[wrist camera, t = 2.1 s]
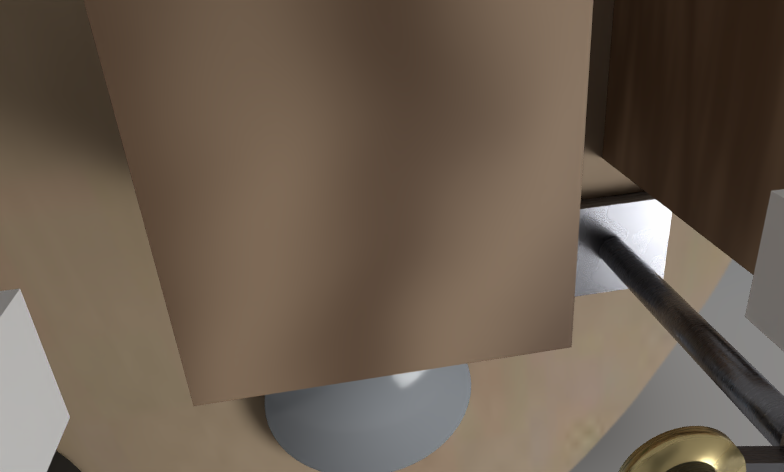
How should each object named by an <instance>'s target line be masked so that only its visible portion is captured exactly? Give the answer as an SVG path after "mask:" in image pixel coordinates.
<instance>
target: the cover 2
mask: <svg viewBox="0 0 784 472" xmlns="http://www.w3.org/2000/svg"><path fill="white" fill-rule="evenodd" d="M602 158H603V159H604V160H606V161H607V162H608V163H609V164H611V165H612V166H613V167H615V168H616V169H617V170H619V171H620V172H621V173H622V174H624V175H625V176H626V177H628V178H629V179H630V180H631V181H633V182H634V183H635V184H637V185H638V186H639V187H640V188H642V189H643V190H644V191H646V192H647V193H648V194H649V195H651V196H652V197H653V198H655V199H656V200H657V201H658V202H660V203H661V204H662V205H664V206H665V207H666V208H667V209H669V210H670V211H671V212H673V213H674V214H675V215H677V216H678V217H679V218H680V219H682V220H683V221H684V222H686V223H687V224H688V225H689V226H691V227H692V228H693V229H695V230H696V231H697V232H698V233H700V234H701V235H702V236H704V237H705V238H706V239H707V240H709V241H710V242H711V243H713V244H714V245H715V246H716V247H718V248H719V249H720V250H722V251H723V252H724V253H726V254H727V255H728V256H729V257H731V258H732V259H733V260H735V261H736V262H737V263H738V264H740V265H741V266H742V267H744V268H745V269H746V270H747V271H749V272H750V273H752V274H753V275H754V271H755V266H756V261H757V256H758V252H759V247H760V242H761V237H762V232H763V228H764V223H765V218H766V213H767V208H768V204H769V199H770V194H771V191H773V190H781V189H784V0H614V12H613V25H612V38H611V51H610V64H609V77H608V90H607V103H606V116H605V129H604V142H603V155H602Z"/></svg>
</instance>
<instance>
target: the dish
mask: <svg viewBox="0 0 784 472" xmlns="http://www.w3.org/2000/svg"><path fill="white" fill-rule="evenodd" d="M470 393H471V379H470V372H469V368H468V365H467V364H460V365H454V366H448V367H441V368H435V369H428V370H422V371H415V372H409V373H403V374H396V375H390V376H383V377H377V378H371V379H364V380H358V381H351V382H345V383H339V384H332V385H326V386H319V387H313V388H306V389H300V390H294V391H287V392H281V393H274V394H268V395H265V412H266V418H267V421H268V425H269V428H270V430H271V432H272V434H273V436H274V437H275V439H276V440H277V442H278V443H279V444H280V446H281V447H282V448H283V449H284V450H285V451H286V452H287V453H288V454H290V455H291V456H292V457H294V458H295V459H296V460H298V461H299V462H301V463H303V464H305V465H306V466H309V467H311V468H313V469H316V470H318V471H322V472H393V471H396V470H399V469H402V468H405V467H407V466H409V465H412V464H414V463H416V462H418V461H420V460H421V459H423V458H425V457H427V456H428V455H429V454H431V453H432V452H434V451H435V450H436V449H438V448H439V447H440V446H441V445H442V444H443V443H444V442H445V441H446V440H447V439H448V438H449V437H450V436H451V435H452V434H453V432H454V431H455V430H456V428H457V427H458V425H459V424H460V422H461V420H462V418H463V417H464V415H465V412H466V409H467V407H468V403H469V399H470Z"/></svg>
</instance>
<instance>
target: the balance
mask: <svg viewBox="0 0 784 472" xmlns="http://www.w3.org/2000/svg"><path fill="white" fill-rule="evenodd" d="M671 216H672V212H671V211H670V210H669V209H667V208H666V207H665V206H664V205H662V204H661V203H660V202H658V201H657V200H656V199H655V198H653V197H652V196H651V195H649V194H648V193H647V192H646V191H645V192H638V193H630V194H623V195H615V196H608V197H600V198H593V199H585V200H581V203H580V219H579V235H578V251H577V266H576V282H575V296H581V295H588V294H595V293H602V292H608V291H615V290H622V289H629V290H630V291H631V292H632V293H633V294H634V295H635V296H636V297H637V298H638V299H639V300H640V302H641V303H642V304H643V305H644V306H645V307H646V308H647V309H648V310H649V311H650V312H651V314H652V315H653V316H654V317H655V318H656V319H657V320H658V321H659V322H660V323H661V324H662V326H663V327H664V328H665V329H666V330H667V331H668V332H669V333H670V334H671V335H672V336H673V338H674V339H675V340H676V341H677V342H678V343H679V344H680V345H681V346H682V347H683V348H684V349H685V351H686V352H687V353H688V354H689V355H690V356H691V357H692V358H693V359H694V360H695V362H696V363H697V364H698V365H699V366H700V367H701V368H702V369H703V370H704V371H705V372H706V374H707V375H708V376H709V377H710V378H711V379H712V380H713V381H714V382H715V383H716V385H717V386H718V387H719V388H720V389H721V390H722V391H723V392H724V393H725V394H726V395H727V397H728V398H729V399H730V400H731V401H732V402H733V403H734V404H735V405H736V406H737V407H738V409H739V410H741V412H742V413H743V414H744V415H745V416H746V417H747V418H748V419H749V421H750V422H751V423H752V424H753V425H754V426H755V427H756V428H757V429H758V430H759V431H760V432H761V433H762V435H763V436H764V437H765V438H766V439H767V440H768V441H769V442H770V443H771V444H772V446H735V445H734V443H733V442H732V441H731V440H730V439H729V438H728V437H727V436H726V435H725V434H724V433H722V432H720V431H718V430H716V429H713V428H710V427H704V426H689V427H682V428H677V429H673V430H670V431H667V432H665V433H662V434H660V435H658V436H656V437H654V438H652V439H650V440H649V441H647V442H646V443H644V444H643V445H642V446H640V447H639V448H638V449H636V450H635V451H634V452H633V453H632V454H631V455H630V456H629V457H628V458H627V460H626V461H625V462H624V464H623V465H622V466H621V468H620V470H619V472H784V396H783V395H782V394H781V393H780V392H779V391H778V390H777V389H776V388H775V387H774V386H773V385H772V384H771V383H770V382H769V381H768V380H767V379H765V377H763V376H762V375H761V374H760V373H759V372H758V371H757V370H756V369H755V368H754V367H753V366H752V365H751V364H750V363H749V362H748V361H747V360H746V359H745V358H744V357H743V356H742V355H741V354H740V353H739V352H738V351H737V350H736V349H735V348H734V347H733V346H732V345H731V344H729V343H728V342H727V341H726V340H725V339H724V338H723V337H722V336H721V335H720V334H719V333H718V332H717V331H716V330H715V329H714V328H713V327H712V326H711V325H710V324H709V323H708V322H707V321H706V320H705V319H704V318H703V317H702V316H701V315H700V314H699V313H697V312H696V311H695V310H694V309H693V308H692V307H691V306H690V305H689V304H688V303H687V302H686V301H685V300H684V299H683V298H682V297H681V296H680V295H679V294H678V293H677V292H676V291H675V290H674V289H673V288H672V287H671V286H670V285H669V284H668V283H667V282H666V281H664V280H663V276H664V268H665V261H666V253H667V246H668V238H669V231H670V223H671Z"/></svg>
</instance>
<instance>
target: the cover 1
mask: <svg viewBox="0 0 784 472" xmlns="http://www.w3.org/2000/svg"><path fill="white" fill-rule="evenodd" d="M84 4H85V8H86V12H87V15H88V19H89V23H90V26H91V30H92V34H93V37H94V41H95V45H96V48H97V52H98V56H99V59H100V63H101V67H102V70H103V74H104V78H105V81H106V85H107V89H108V93H109V96H110V100H111V104H112V107H113V111H114V115H115V118H116V122H117V126H118V129H119V133H120V137H121V140H122V144H123V148H124V151H125V155H126V159H127V162H128V166H129V170H130V174H131V177H132V181H133V185H134V188H135V192H136V196H137V199H138V203H139V207H140V210H141V214H142V218H143V221H144V225H145V229H146V232H147V236H148V240H149V244H150V247H151V251H152V255H153V258H154V262H155V266H156V269H157V273H158V277H159V280H160V284H161V288H162V291H163V295H164V299H165V302H166V306H167V310H168V313H169V317H170V321H171V325H172V328H173V332H174V336H175V339H176V343H177V347H178V350H179V354H180V358H181V361H182V365H183V369H184V372H185V376H186V380H187V383H188V387H189V391H190V394H191V398H192V402H193V406H197V405H204V404H210V403H217V402H223V401H230V400H236V399H242V398H249V397H255V396H262V395H268V394H274V393H281V392H287V391H294V390H300V389H306V388H313V387H319V386H326V385H332V384H339V383H345V382H351V381H358V380H364V379H371V378H377V377H383V376H390V375H396V374H403V373H409V372H415V371H422V370H428V369H435V368H441V367H448V366H454V365H460V364H467V363H473V362H480V361H486V360H492V359H499V358H505V357H512V356H518V355H524V354H531V353H537V352H544V351H550V350H557V349H563V348H569V347H571V345H572V330H573V314H574V298H575V282H576V266H577V251H578V235H579V219H580V203H581V188H582V172H583V156H584V140H585V124H586V109H587V93H588V77H589V61H590V46H591V30H592V14H593V0H84Z"/></svg>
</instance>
